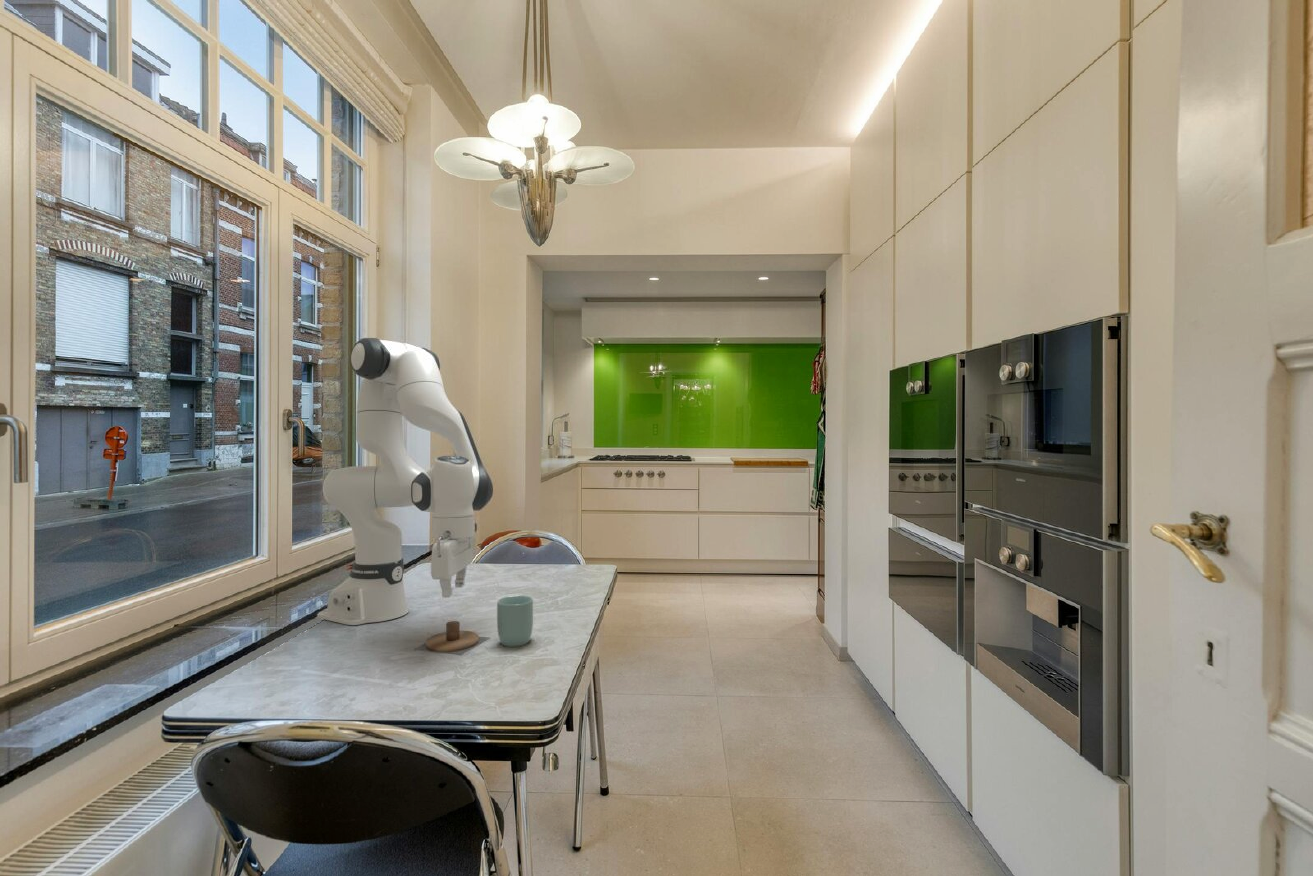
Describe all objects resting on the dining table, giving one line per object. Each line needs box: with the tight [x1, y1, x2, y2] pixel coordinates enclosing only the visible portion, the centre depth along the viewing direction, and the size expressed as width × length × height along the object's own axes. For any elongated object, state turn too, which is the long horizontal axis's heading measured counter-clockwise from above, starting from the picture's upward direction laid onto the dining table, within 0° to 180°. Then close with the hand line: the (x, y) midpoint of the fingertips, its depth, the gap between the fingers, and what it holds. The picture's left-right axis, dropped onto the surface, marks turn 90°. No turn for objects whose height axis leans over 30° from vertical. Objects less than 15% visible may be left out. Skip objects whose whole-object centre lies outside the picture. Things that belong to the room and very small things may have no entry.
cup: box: [496, 595, 534, 648], centre depth 131 cm, size 8×8×10 cm
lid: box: [425, 620, 479, 653], centre depth 131 cm, size 11×11×4 cm
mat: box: [413, 635, 491, 656], centre depth 131 cm, size 12×11×1 cm
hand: (453, 591), depth 131 cm, fingers open, 8 cm apart
